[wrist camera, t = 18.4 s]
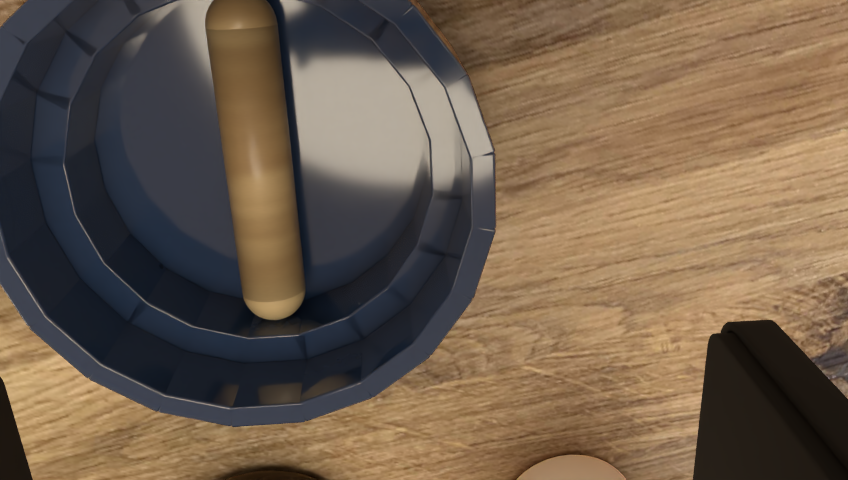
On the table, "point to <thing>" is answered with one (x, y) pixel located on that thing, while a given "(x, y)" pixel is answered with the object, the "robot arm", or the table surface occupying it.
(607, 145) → the table surface
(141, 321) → the bowl
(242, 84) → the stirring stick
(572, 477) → the cup
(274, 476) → the ink bottle
